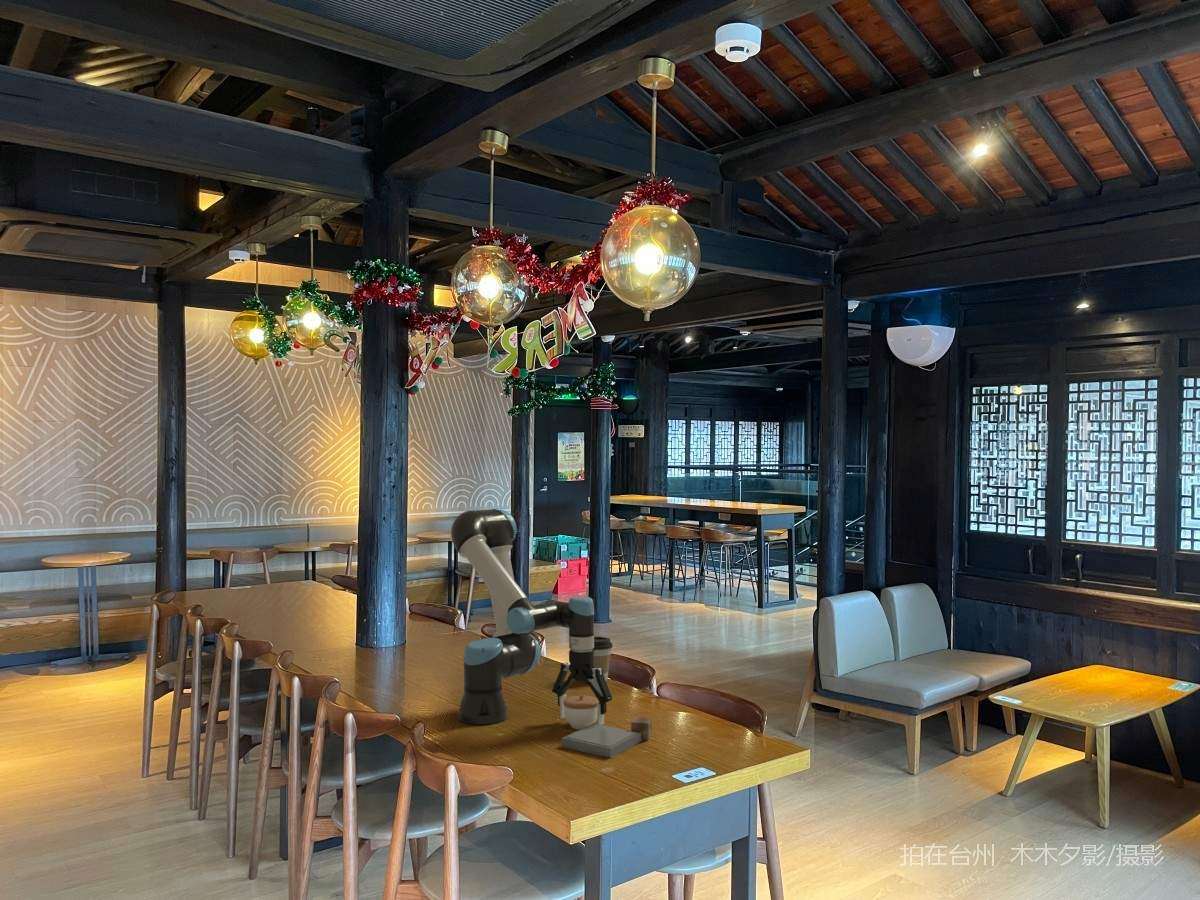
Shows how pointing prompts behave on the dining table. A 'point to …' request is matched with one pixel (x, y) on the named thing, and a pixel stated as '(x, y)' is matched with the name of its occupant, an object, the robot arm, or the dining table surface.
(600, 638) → the coffee cup
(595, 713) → the lidded jar
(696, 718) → the dining table surface
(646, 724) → the walnut block
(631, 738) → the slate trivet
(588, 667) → the robot arm
